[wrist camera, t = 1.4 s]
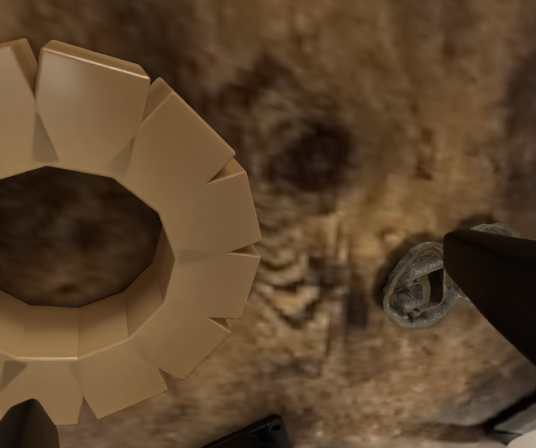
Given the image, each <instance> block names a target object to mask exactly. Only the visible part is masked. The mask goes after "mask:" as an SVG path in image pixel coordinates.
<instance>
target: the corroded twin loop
mask: <svg viewBox="0 0 536 448" xmlns="http://www.w3.org/2000/svg"><path fill="white" fill-rule="evenodd" d="M470 230H476V231H481V232H487V233H493V234H499V235H505V236H511V237H516V238H522V237H521V235H520V234H519V232H518V231H517V230H516V229H514V228H513V227H512V226H510V225H508V224H503V223H501V222H496V223H494V224H491V225H488V224H480V225H478V226H475V227H471V228H470ZM438 269H440V274H439V277H440V281H441V287H440V288H439V289H438V290H437V291H436V293H435V294H434V295H433V296H432V297H430V290H431V287H430V284H429V281H428V280H422V281H415V280H414V279H416V278H417V277H420V276H423V275H425V274H428V273H430V272H433V271H435V270H438ZM382 294H383V306H384V313H385V314H386V315H387V317H388V318H389V319H390V320H391V321H392V322H393V323H395V324H398V325H400V326H402V327H405V328H407V329H410V330H422V329H428V328H431V327H433V326H435V325H436V324H438V323H439V322H440V321H441V320H442V319H443V318H444V317H445V316H446V315H447V314H448V313H449V312H450V310H451V309H452V308H453V306H454V305H455V303H456V302H457V301H459V300H460V301H462V302H464V303H467V304H468V305H470V306H472V307H475V306H474V304H473V303H472V302H471V301H470V300H469V299H468V297H467V296H466V295H465V294H464V293H463V292H462V290H461V289H460V288H459V287H458V286H457V285H456V283H455V282H454V281H453V280H452V279H451V278H450V276H449V275H448V274H447V273H446V271H445V269H444V266H443V243H438V242H434V243H432V242H429V241H428V242H423V243H420V244H418V245H414V246H412V247H411V248H410V250H409V251H408V252H407V253H406V255H404V256H403V257H402V258H401V259H400V260H399V262H398V263H397V265H396V266H395V268H394V269H393V270H392V272H390V275H389V277H388V280H387V285H386V286H385V287H384V288H383V290H382ZM429 297H430V298H429Z"/></svg>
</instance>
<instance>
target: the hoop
mask: <svg viewBox="0 0 536 448" xmlns="http://www.w3.org/2000/svg"><path fill="white" fill-rule="evenodd" d="M150 82H151V80H150V77H149V76H148V75H147V74H146V72H145V71H144V70H143V69H142V67H141V66H140V65H138V64H135V63H131V62H128V61H124V60H121V59H118V58H114V57H111V56H107V55H104V54H101V53H97V52H94V51H90V50H87V49H84V48H80V47H77V46H73V45H70V44H67V43H63V42H60V41H56V40H50V41H49V42H48V43H46V44H45V45H44V46H43V47H42V48H41V49H40V53H39V61H38V64H37V61H36V59H35V57H34V54H33V52H32V50H31V47H30V45H29V43H28V41H27V39H26V38H22V39H18V40H13V41H9V42H5V43H0V179H3V178H7V177H10V176H14V175H17V174H21V173H24V172H28V171H31V170H34V169H38V168H41V167H45V166H50V167H55V168H61V169H66V170H72V171H78V172H83V173H89V174H94V175H100V176H105V177H111V178H113V179H115V180H116V181H117V182H119V183H120V184H121V185H122V186H124V187H125V188H126V189H128V190H129V191H130V192H131V193H133V194H134V195H135V196H137V197H138V198H139V199H141V200H142V201H143V202H144V203H146V204H147V205H148V206H150V207H151V208H152V209H154V210H155V211H156V212H157V213H158V214H159V217H160V220H161V222H162V227H161V231H160V235H159V240H158V244H157V248H156V252H155V256H154V260H153V262H152V263H151V264H150V265H149V266H148V267H147V268H146V269H145V270H144V271H143V272H142V273H141V274H140V275H139V276H138V277H137V278H136V279H135V281H134V282H133V283H132V284H131V285H130V286H129V287H128V288H127V289H126V290H125V291H124V292H121V293H119V294H116V295H113V296H110V297H107V298H105V299H102V300H99V301H96V302H94V303H91V304H88V305H85V306H83V307H80V308H75V307H56V306H38V305H28V304H26V303H24V302H23V301H21V300H19V299H17V298H15V297H13V296H11V295H9V294H7V293H5V292H3V291H1V290H0V420H1V419H2V417H3V416H4V415H5V413H6V412H7V411H8V409H9V408H10V407H12V406H13V405H16V404H18V403H21V402H23V401H26V400H28V399H31V398H33V399H36V400H38V401H39V402H40V404H41V405H42V407H43V408H44V410H45V411H46V412H47V414H48V415H49V417H50V418H51V420H52V421H53V423H54V424H55V425H73V424H78V422H79V419H80V414H81V409H82V404H83V400H84V399H85V400H86V402H87V404H88V405H89V407H90V408H91V410H92V412H93V413H94V415H95V417H96V418H97V419H101V418H103V417H106V416H108V415H110V414H113V413H115V412H118V411H120V410H122V409H125V408H127V407H130V406H132V405H134V404H137V403H139V402H142V401H144V400H146V399H149V398H151V397H154V396H156V395H158V394H161V393H163V392H165V391H167V383H166V378H165V373H164V371H165V372H167V373H168V374H170V375H172V376H174V377H176V378H178V379H180V380H184V379H185V378H186V377H187V376H188V375H189V374H190V373H191V372H192V371H193V370H194V369H195V368H196V367H197V366H198V365H199V364H200V363H201V362H202V361H203V360H204V359H205V358H206V357H207V356H208V355H209V354H210V353H211V352H212V351H213V350H214V349H215V348H216V347H217V346H219V345H220V344H221V343H222V342H223V341H224V340H225V339H226V338H227V337H228V336H229V335H230V333H231V331H230V329H229V326H228V324H227V322H226V319H225V318H228V319H240V318H241V316H242V313H243V310H244V307H245V304H246V301H247V298H248V295H249V292H250V289H251V286H252V283H253V280H254V277H255V274H256V271H257V268H258V265H259V262H260V259H261V256H260V255H259V253H258V252H257V250H256V249H255V247H254V246H253V244H254V243H257V242H259V241H261V240H262V237H261V232H260V228H259V224H258V219H257V215H256V211H255V207H254V202H253V198H252V194H251V189H250V185H249V181H248V177H247V172H246V171H245V170H244V169H243V168H242V167H241V165H240V164H239V163H238V162H237V161H236V160H235V159H234V158H233V157H234V156H235V151H234V150H233V149H232V148H231V147H230V146H229V145H228V144H227V143H226V142H225V141H224V140H223V139H222V138H221V137H220V136H219V135H218V134H217V133H216V132H215V131H214V130H213V129H212V128H211V127H210V126H209V125H208V124H207V123H206V122H205V121H204V120H203V119H202V118H201V117H200V116H199V115H198V114H197V113H196V112H195V111H194V110H193V109H192V108H191V107H190V106H189V105H188V104H187V103H186V102H185V101H184V100H183V99H182V98H181V97H180V96H179V95H178V94H177V93H176V92H175V91H174V90H173V89H172V88H171V87H170V86H169V85H168V84H167V83H166V82H165V81H164V80H163V79H162V78H160V77H159V78H157V79H156V80H155V81H154V82H153V83H152V84H151V85H150Z"/></svg>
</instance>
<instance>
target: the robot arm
mask: <svg viewBox="0 0 536 448" xmlns="http://www.w3.org/2000/svg"><path fill="white" fill-rule="evenodd" d="M443 266H444V269H445V271H446V273H447V274H448V275H449V276H450V278H451V279H452V280H453V281H454V282H455V283H456V285H457V286H458V287H459V288H460V289H461V290H462V292H463V293H464V294H465V295H466V296H467V297H468V299H469V300H470V301H471V302H472V303H473V304H474V306H475V307H476V308H477V309H478V310H479V311H480V313H481V314H482V315H483V316H484V317H485V318H486V319H487V320H488V322H489V323H490V324H491V325H492V326H493V327H494V328H495V329H496V330H497V331H498V332H499V333H500V334H502V335H503V336H504V337H505V338H506V339H507V340H508V341H509V342H510V343H511V344H512V345H513V346H514V347H515V348H516V349H517V350H518V351H519V352H520V353H521V354H522V355H523V356H525V357H526V358H527V359H528V360H529V361H530V362H531V363H532V364H533V365H534V366H535V367H536V241H534V240H528V239H522V238H516V237H511V236H505V235H499V234H493V233H487V232H481V231H476V230H470V229H464V228H460V229H457V230H454V231H452V232H449V233H447V234H446V235H445V236H444V238H443ZM0 448H59V437H58V432H57V428H56V426H55V424H54V423H53V421H52V420H51V418H50V417H49V415H48V414H47V412H46V411H45V410H44V408H43V407H42V405H41V404H40V402H39V401H38V400H36V399H33V398H31V399H28V400H26V401H23V402H21V403H18V404H16V405H13V406H12V407H10V408H9V409H8V411H7V412H6V413H5V415H4V416H3V417H2V419H1V420H0ZM201 448H291V446H290V443H289V439H288V435H287V431H286V428H285V424H284V422H283V420H282V418H281V416H280V415H271V416H269V417H267V418H265V419H262V420H260V421H258V422H256V423H254V424H251V425H249V426H247V427H245V428H243V429H240V430H238V431H236V432H234V433H232V434H229V435H227V436H225V437H223V438H221V439H218V440H216V441H214V442H212V443H210V444H207V445H205V446H203V447H201Z"/></svg>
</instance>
